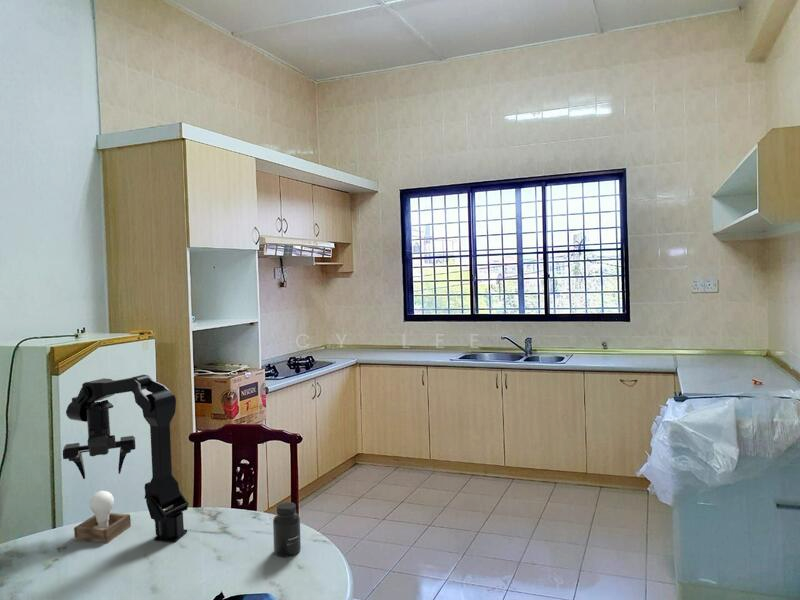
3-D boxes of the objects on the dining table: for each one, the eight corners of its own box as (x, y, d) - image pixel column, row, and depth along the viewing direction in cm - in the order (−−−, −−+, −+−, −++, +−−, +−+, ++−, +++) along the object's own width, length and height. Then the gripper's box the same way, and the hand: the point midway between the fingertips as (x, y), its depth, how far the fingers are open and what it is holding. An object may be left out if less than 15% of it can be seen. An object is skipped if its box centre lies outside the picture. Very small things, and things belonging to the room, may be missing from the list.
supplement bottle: (295, 558, 155) (293, 511, 154) (269, 556, 157) (267, 510, 156) (305, 545, 162) (303, 500, 161) (280, 543, 163) (278, 499, 162)
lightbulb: (120, 526, 174) (118, 488, 173) (103, 536, 168) (101, 496, 167) (103, 524, 176) (100, 486, 175) (86, 533, 170) (83, 494, 169)
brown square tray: (130, 526, 176) (130, 514, 176) (107, 542, 167) (106, 530, 166) (99, 524, 178) (98, 512, 178) (74, 540, 169) (74, 527, 168)
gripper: (58, 435, 168) (62, 491, 169) (133, 425, 176) (137, 479, 177) (63, 424, 178) (66, 477, 180) (133, 416, 186) (136, 467, 187)
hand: (102, 475), depth 181 cm, fingers open, 9 cm apart
